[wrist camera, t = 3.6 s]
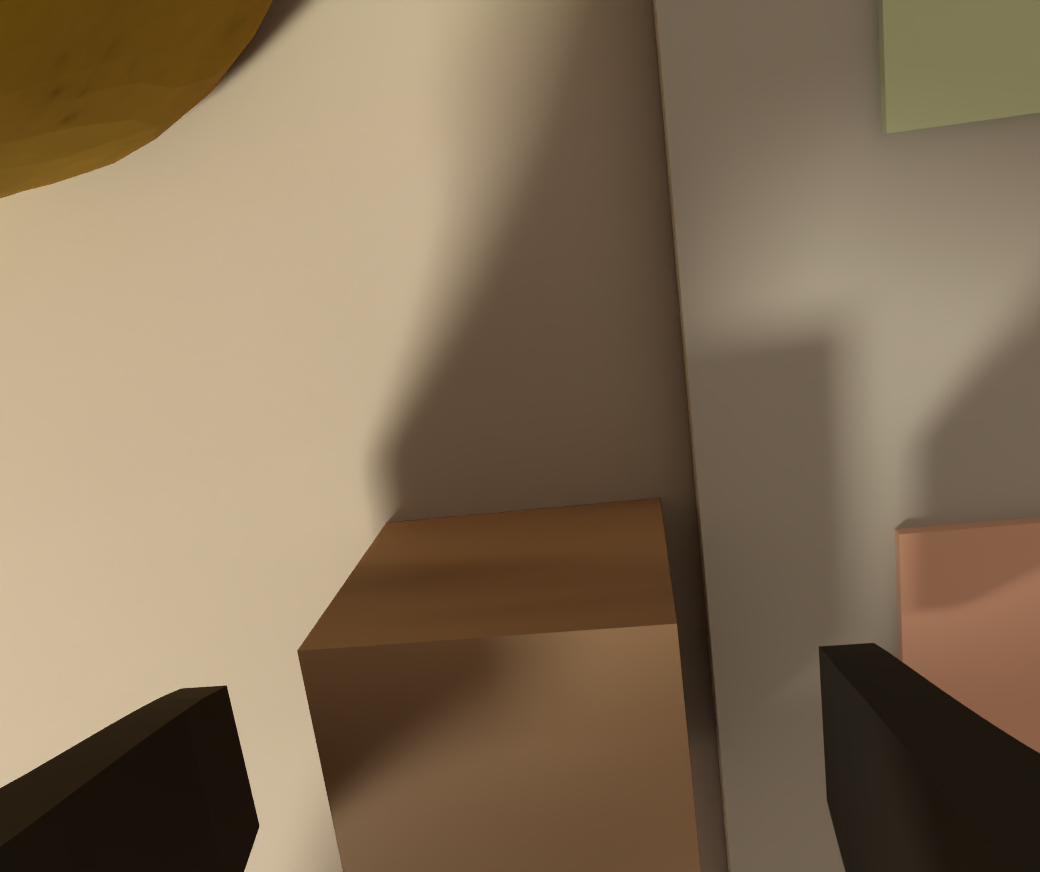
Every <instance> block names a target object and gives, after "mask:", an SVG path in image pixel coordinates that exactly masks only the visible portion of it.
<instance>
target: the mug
mask: <svg viewBox="0 0 1040 872" xmlns="http://www.w3.org/2000/svg"><path fill="white" fill-rule="evenodd" d="M272 2H273V0H0V198H2V197H6V196H9V195H12V194H15V193H18V192H21V191H25V190H29V189H33V188H37V187H41V186H45V185H49V184H53V183H56V182H59V181H62V180H65V179H68V178H71V177H74V176H77V175H80V174H83V173H87V172H89V171H92V170H95V169H98V168H101V167H104V166H107V165H110V164H113V163H115V162H117V161H118V160H120V159H122V158H124V157H125V156H127V155H129V154H130V153H132V152H134V151H136V150H137V149H139V148H141V147H142V146H144V145H146V144H147V143H149V142H151V141H153V140H154V139H156V138H157V137H158V136H160V135H161V134H162V133H163V132H164V131H166V130H167V129H168V128H169V127H170V126H171V125H173V124H174V123H175V122H176V121H177V120H178V119H180V118H181V117H182V116H183V115H184V114H186V113H187V112H188V111H189V110H190V109H191V108H193V107H194V106H195V105H196V104H197V103H198V102H200V101H201V100H202V99H203V98H204V97H206V96H207V95H208V94H209V93H210V92H211V91H212V90H213V88H214V87H215V86H216V85H217V83H218V82H219V81H220V79H221V78H222V77H223V76H224V74H225V73H226V72H227V70H228V69H229V68H230V67H231V65H232V64H233V63H234V61H235V60H236V59H237V58H238V56H239V55H240V54H241V52H242V51H243V50H244V49H245V47H246V46H247V45H248V43H249V42H250V41H251V40H252V38H253V37H254V35H255V33H256V32H257V30H258V28H259V26H260V24H261V22H262V21H263V19H264V17H265V15H266V13H267V11H268V10H269V8H270V6H271V4H272Z"/></svg>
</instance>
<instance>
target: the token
mask: <svg viewBox="0 0 1040 872" xmlns="http://www.w3.org/2000/svg"><path fill="white" fill-rule="evenodd" d="M297 652H298V657H299V661H300V666H301V671H302V676H303V681H304V685H305V690H306V695H307V700H308V705H309V709H310V714H311V719H312V724H313V729H314V733H315V738H316V743H317V748H318V753H319V757H320V762H321V767H322V772H323V777H324V781H325V786H326V791H327V796H328V801H329V805H330V810H331V815H332V820H333V825H334V829H335V834H336V839H337V844H338V849H339V853H340V858H341V863H342V868H343V872H701V869H700V858H699V848H698V838H697V827H696V817H695V806H694V796H693V786H692V775H691V765H690V754H689V744H688V734H687V723H686V713H685V703H684V692H683V682H682V671H681V661H680V651H679V640H678V630H677V621H676V613H675V606H674V599H673V591H672V584H671V576H670V569H669V562H668V554H667V547H666V540H665V532H664V525H663V518H662V510H661V503H660V498H653V499H642V500H631V501H620V502H609V503H598V504H587V505H576V506H565V507H554V508H543V509H532V510H521V511H509V512H498V513H487V514H476V515H465V516H454V517H443V518H432V519H421V520H410V521H399V522H388V523H386V524H385V526H384V527H383V528H382V530H381V531H380V533H379V534H378V536H377V537H376V538H375V540H374V541H373V543H372V544H371V546H370V547H369V549H368V550H367V551H366V553H365V554H364V556H363V557H362V559H361V560H360V562H359V563H358V564H357V566H356V567H355V569H354V570H353V572H352V573H351V574H350V576H349V577H348V579H347V580H346V582H345V583H344V585H343V586H342V587H341V589H340V590H339V592H338V593H337V595H336V596H335V597H334V599H333V600H332V602H331V603H330V605H329V606H328V608H327V609H326V610H325V612H324V613H323V615H322V616H321V618H320V619H319V620H318V622H317V623H316V625H315V626H314V628H313V629H312V631H311V632H310V633H309V635H308V636H307V638H306V639H305V641H304V642H303V643H302V645H301V646H300V648H299V649H298V651H297Z"/></svg>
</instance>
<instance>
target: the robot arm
mask: <svg viewBox="0 0 1040 872" xmlns="http://www.w3.org/2000/svg"><path fill="white" fill-rule="evenodd" d="M819 664H820V683H821V702H822V720H823V739H824V757H825V776H826V795H827V803H828V807H829V811H830V815H831V819H832V823H833V827H834V831H835V835H836V839H837V842H838V846H839V850H840V854H841V857H842V861H843V865H844V868H845V872H1040V753H1039V752H1037V751H1035V750H1033V749H1032V748H1030V747H1028V746H1027V745H1025V744H1023V743H1022V742H1020V741H1019V740H1017V739H1015V738H1014V737H1012V736H1011V735H1009V734H1007V733H1006V732H1004V731H1003V730H1001V729H999V728H998V727H996V726H995V725H993V724H992V723H990V722H989V721H987V720H986V719H984V718H983V717H981V716H980V715H978V714H977V713H975V712H974V711H972V710H971V709H969V708H968V707H966V706H965V705H963V704H962V703H960V702H959V701H957V700H956V699H954V698H953V697H951V696H950V695H949V694H947V693H946V692H944V691H943V690H941V689H940V688H938V687H937V686H936V685H934V684H933V683H931V682H930V681H929V680H927V679H926V678H924V677H923V676H921V675H920V674H919V673H917V672H916V671H914V670H913V669H912V668H910V667H909V666H907V665H906V664H905V663H903V662H902V661H900V660H899V659H898V658H896V657H895V656H893V655H892V654H890V653H889V652H887V651H886V650H884V649H883V648H881V647H880V646H878V645H877V644H875V643H862V644H847V645H832V646H819ZM258 829H259V822H258V818H257V814H256V809H255V805H254V801H253V797H252V792H251V788H250V784H249V779H248V775H247V771H246V767H245V762H244V758H243V754H242V749H241V745H240V741H239V737H238V732H237V728H236V724H235V719H234V715H233V711H232V707H231V702H230V698H229V694H228V689H227V686H213V687H198V688H183V689H179V690H177V691H174V692H172V693H170V694H167V695H165V696H163V697H161V698H159V699H157V700H155V701H153V702H151V703H149V704H147V705H145V706H143V707H141V708H140V709H138V710H136V711H134V712H132V713H130V714H129V715H127V716H125V717H123V718H122V719H120V720H118V721H116V722H115V723H113V724H111V725H109V726H108V727H106V728H104V729H103V730H101V731H99V732H97V733H96V734H94V735H92V736H90V737H89V738H87V739H85V740H84V741H82V742H80V743H78V744H77V745H75V746H73V747H72V748H70V749H68V750H66V751H65V752H63V753H61V754H60V755H58V756H56V757H55V758H53V759H51V760H49V761H48V762H46V763H44V764H43V765H41V766H39V767H37V768H36V769H34V770H32V771H30V772H29V773H27V774H25V775H24V776H22V777H20V778H18V779H16V780H14V781H13V782H11V783H9V784H7V785H5V786H4V787H2V788H0V872H244V870H245V867H246V864H247V861H248V858H249V855H250V852H251V849H252V847H253V844H254V841H255V838H256V835H257V832H258Z"/></svg>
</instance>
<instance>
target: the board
mask: <svg viewBox="0 0 1040 872" xmlns="http://www.w3.org/2000/svg"><path fill="white" fill-rule="evenodd" d="M653 7H654V19H655V30H656V42H657V53H658V65H659V76H660V88H661V99H662V111H663V122H664V134H665V145H666V157H667V169H668V180H669V192H670V203H671V215H672V226H673V238H674V249H675V261H676V272H677V284H678V295H679V307H680V318H681V330H682V341H683V353H684V364H685V376H686V387H687V399H688V411H689V422H690V434H691V445H692V457H693V468H694V480H695V491H696V503H697V514H698V526H699V537H700V549H701V560H702V572H703V583H704V595H705V606H706V618H707V629H708V641H709V652H710V664H711V676H712V687H713V699H714V710H715V722H716V733H717V745H718V756H719V768H720V779H721V791H722V802H723V814H724V825H725V837H726V848H727V860H728V871H729V872H845V868H844V865H843V861H842V857H841V854H840V850H839V846H838V842H837V839H836V835H835V831H834V827H833V823H832V819H831V815H830V811H829V807H828V803H827V795H826V776H825V757H824V739H823V720H822V702H821V683H820V664H819V646H832V645H847V644H862V643H875V644H877V645H878V646H880V647H881V648H883V649H884V650H886V651H887V652H889V653H890V654H892V655H893V656H895V657H896V658H898V659H899V660H900V661H902V662H903V663H905V664H906V665H907V666H909V667H910V668H912V669H913V670H914V671H916V672H917V673H919V674H920V675H921V676H923V677H924V678H926V679H927V680H929V681H930V682H931V683H933V684H934V685H936V686H937V687H938V688H940V689H941V690H943V691H944V692H946V693H947V694H949V695H950V696H951V697H953V698H954V699H956V700H957V701H959V702H960V703H962V704H963V705H965V706H966V707H968V708H969V709H971V710H972V711H974V712H975V713H977V714H978V715H980V716H981V717H983V718H984V719H986V720H987V721H989V722H990V723H992V724H993V725H995V726H996V727H998V728H999V729H1001V730H1003V731H1004V732H1006V733H1007V734H1009V735H1011V736H1012V737H1014V738H1015V739H1017V740H1019V741H1020V742H1022V743H1023V744H1025V745H1027V746H1028V747H1030V748H1032V749H1033V750H1035V751H1037V752H1039V753H1040V0H653Z"/></svg>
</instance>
